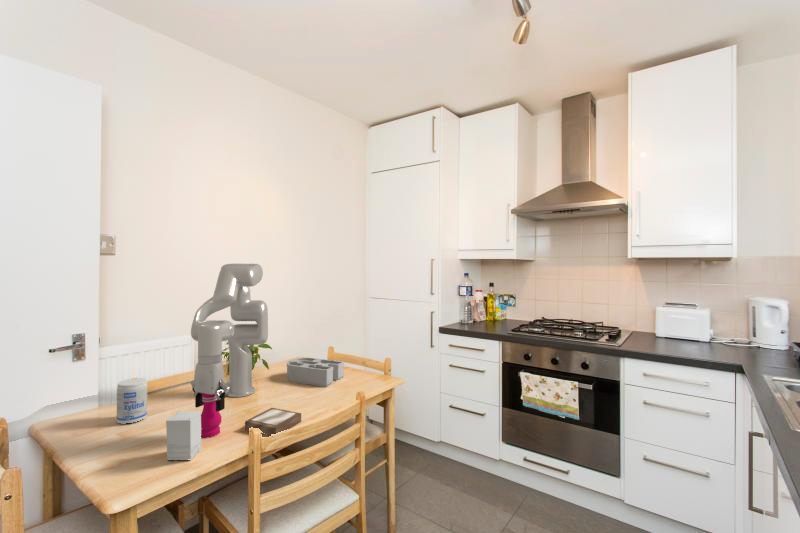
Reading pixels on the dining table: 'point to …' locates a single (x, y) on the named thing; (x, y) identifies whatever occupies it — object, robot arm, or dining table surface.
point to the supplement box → (183, 435)
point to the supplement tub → (131, 400)
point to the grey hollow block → (314, 371)
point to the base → (274, 421)
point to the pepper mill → (210, 416)
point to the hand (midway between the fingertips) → (209, 408)
